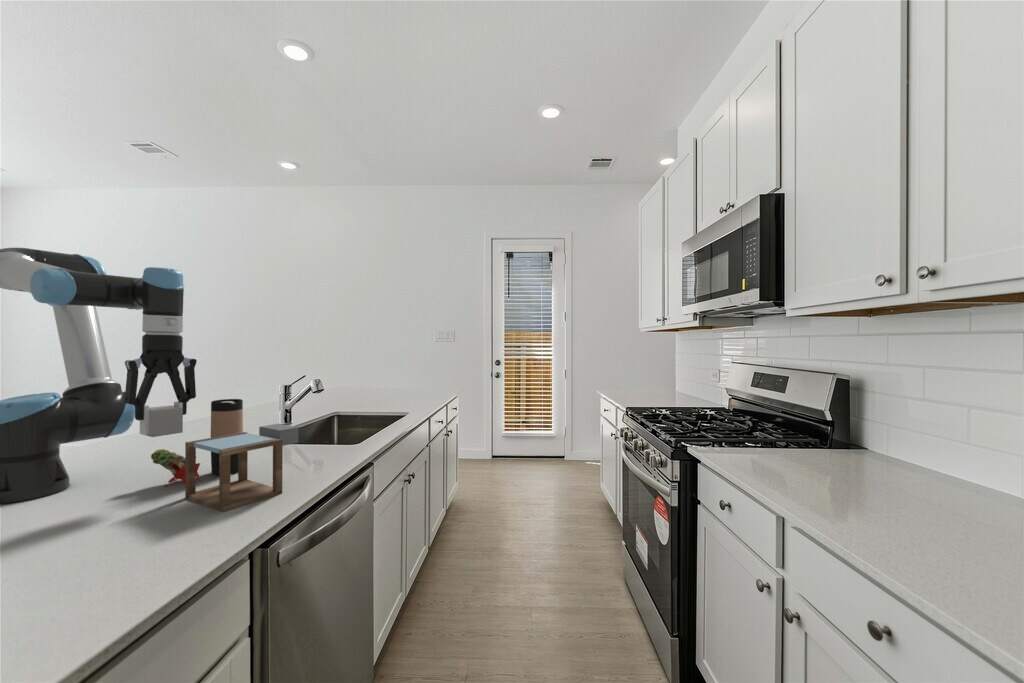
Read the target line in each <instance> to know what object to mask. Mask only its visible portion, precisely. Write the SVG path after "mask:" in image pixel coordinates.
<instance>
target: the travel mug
mask: <svg viewBox="0 0 1024 683" xmlns="http://www.w3.org/2000/svg"><path fill="white" fill-rule="evenodd" d="M243 402H244V400H243V399H240V398H228V399H227V398H225V399H217V400H216V399H215V400H211V402H210V438H213V437H219V436H225V435H230V434H236V433H242V432H244V419H243V418H244V414H243V413H244V412H243V411H244V408H243V407H244V406H243V405H244V403H243ZM210 465H211V467H210V468H211V475H212V476H216V477H217V476H219V453H215V452H211V451H210ZM234 474H238V453H236V454H231V455H230V476H231V475H234Z"/></svg>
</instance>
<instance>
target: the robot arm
mask: <svg viewBox="0 0 1024 683" xmlns="http://www.w3.org/2000/svg"><path fill="white" fill-rule="evenodd" d="M142 274H143V275H142V276H141V277H130V276H122V275H111V274H107V272H106V270H105V267H104V265H103V264H102V263H101V262H100V261H98V260H97V259H95V258H93V257H92V256H91V257H90V256H85V255H81V254H76V253H70V254H69V253H63V252H56V251H49V250H42V249H34V248H28V247H5V248H0V289H2V290H8V291H9V290H10V291H17V292H24V293H30V294H31V295H32V297H33V299H34V300H35V302H38V303H41V304H47V305H49V306H51V307H52V309H53V310H52V311H53V314H54V319H55V320H54V321H55V324H56V329H57V334H58V338H59V345H60V348H61V353H62V358H63V363H64V368H65V374H66V379H67V382H68V383H67V384H68V387H67V388H66V389H64V391H63V392H62V397H61V395H60V393H58V392H42V393H41V392H40V393H32V394H26V395H19V396H13V397H9V398H4V399H1V400H0V505H2V504H10V503H15V502H23V501H28V500H33V499H38V498H43V497H46V496H50V495H53V494H57V493H59V492H62V491H65V490H67V489H68V488H69V487H70V475H69V473H68V471H67V469H66V467H65V465H64V463H63V461H62V458H61V456H60V453H61V452H60V447H61V445H63V444H68V443H75V442H82V441H83V442H84V441H88V440H94V439H96V440H97V439H101V438H108V437H113V436H117V435H123V434H124V433H126V432H127V431H128V430H130V428H131V427H132V425H133V422H134V420H136V421H139V434H140V435H143V434H144V435H143V436H146V435H147V434H149V408H150V405H146V403H147V400H148V398H149V396H150V393H151V391H152V390H151V389H152V388H153V385H154V382H155V380H156V378H157V377H158V375H159V374H163V373H165V374H167V376H168V377H169V380H170V383H171V385H172V388H173V391H174V395H175V396H176V399H177V401H173V406H177V407H183V416H185V415H187V413H188V412H187V410H188V409H187V408H188V406H187V404H188V402H190V400H192V399H195V398H196V397H197V390H196V387H197V386H196V376H195V375H196V373H195V367H196V365H197V359H196V358H191V357H190V358H189V357H185V356H184V353H183V340H184V339H183V336H182V334H181V333H183V331H184V330H183V328H184V317H183V314H184V292H185V291H184V290H185V285H184V274H183V273H182V271H180V270H178V269H174V268H169V267H167V268H166V267H153V266H152V267H151V266H150V267H145V268H144V270H143V273H142ZM97 307H101V308H114V309H115V308H119V309H128V310H136V311H137V310H138V311H139V310H142V325H141V326H142V329H141V331H142V332H143V333H145V334H143V335H142V337H141V351H142V352H141V354H140V356H139V358H136V359H132V360H130V359H128V360H125V361H124V365H125V368H126V371H127V372H126V383H125V391H123V388H122V386H121V383H119V382H117V381H115V380H113V377H112V373H111V369H110V364H109V360H108V356H107V355H108V354H107V352H106V351H107V350H106V346H105V343H104V336H103V333H102V329H101V325H100V324H101V323H100V319H99V315H98V311H97ZM180 334H181V335H180ZM141 364H142V365H143V367H145V368H146V369H145V371H144V377H143V379H142V382H141V385H140V387H139V389H138V381H139V369H140V367H141ZM181 364H182V365H183V369H184V370H183V372H184V385H183V382H182V379H181V376H180V374H181V373H180V371H179V367H180V365H181ZM137 391H138V392H137Z"/></svg>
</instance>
